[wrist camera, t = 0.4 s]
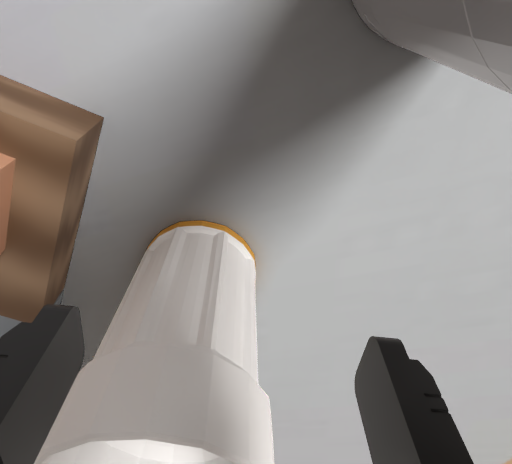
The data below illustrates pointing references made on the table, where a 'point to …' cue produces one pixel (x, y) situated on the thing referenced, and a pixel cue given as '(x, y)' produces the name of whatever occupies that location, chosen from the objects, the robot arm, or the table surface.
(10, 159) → the terracotta tile
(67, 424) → the cup
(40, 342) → the robot arm
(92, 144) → the walnut platform
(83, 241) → the table surface
